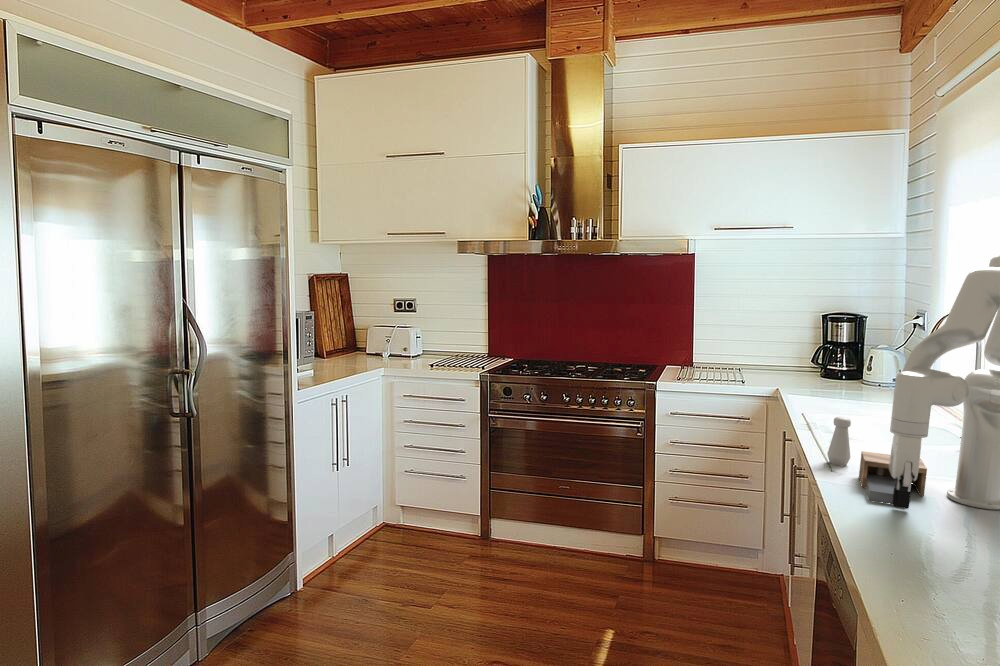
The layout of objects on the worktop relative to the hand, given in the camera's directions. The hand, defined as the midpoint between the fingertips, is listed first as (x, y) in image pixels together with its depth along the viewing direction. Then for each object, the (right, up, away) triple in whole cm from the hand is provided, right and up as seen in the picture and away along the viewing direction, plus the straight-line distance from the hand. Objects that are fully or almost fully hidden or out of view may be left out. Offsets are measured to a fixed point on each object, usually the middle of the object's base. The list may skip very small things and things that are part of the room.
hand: (900, 506), depth 174 cm
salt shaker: (+2, +3, +37) cm, 37 cm away
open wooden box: (+7, +1, +18) cm, 20 cm away
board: (+2, 0, +12) cm, 12 cm away
